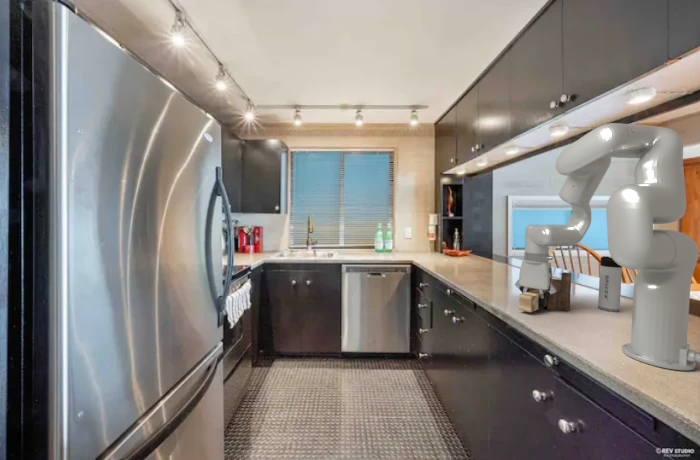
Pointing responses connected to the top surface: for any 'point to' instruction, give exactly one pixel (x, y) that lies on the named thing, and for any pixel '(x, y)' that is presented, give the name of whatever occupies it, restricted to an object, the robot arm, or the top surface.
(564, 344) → the top surface
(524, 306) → the rail
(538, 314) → the top surface
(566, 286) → the headboard
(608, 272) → the travel mug
